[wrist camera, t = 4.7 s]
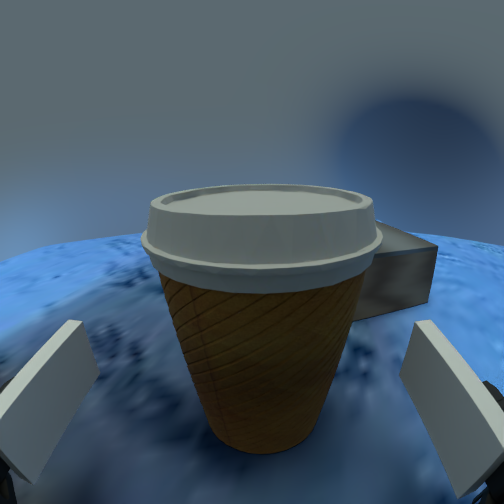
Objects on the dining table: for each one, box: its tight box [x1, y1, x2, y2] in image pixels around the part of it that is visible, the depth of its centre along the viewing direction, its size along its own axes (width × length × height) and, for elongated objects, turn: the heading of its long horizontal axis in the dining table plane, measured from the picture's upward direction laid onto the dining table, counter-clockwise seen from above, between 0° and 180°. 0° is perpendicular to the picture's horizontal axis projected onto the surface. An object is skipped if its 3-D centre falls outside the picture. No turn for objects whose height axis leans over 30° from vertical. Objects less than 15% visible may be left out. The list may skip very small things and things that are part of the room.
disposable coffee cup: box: [141, 184, 383, 454], centre depth 13 cm, size 10×10×12 cm
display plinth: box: [353, 220, 438, 321], centre depth 30 cm, size 13×13×6 cm
